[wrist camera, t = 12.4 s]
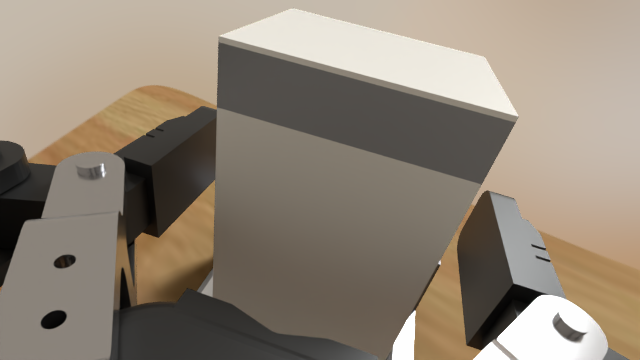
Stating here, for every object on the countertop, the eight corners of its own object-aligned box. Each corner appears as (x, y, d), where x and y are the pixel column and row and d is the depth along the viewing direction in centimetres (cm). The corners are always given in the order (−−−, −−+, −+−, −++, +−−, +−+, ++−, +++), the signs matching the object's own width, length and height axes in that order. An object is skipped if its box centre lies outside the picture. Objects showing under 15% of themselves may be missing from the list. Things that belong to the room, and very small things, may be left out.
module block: (368, 319, 15) (484, 56, 9) (351, 422, 12) (518, 116, 5) (256, 281, 15) (292, 8, 9) (210, 369, 12) (218, 36, 6)
